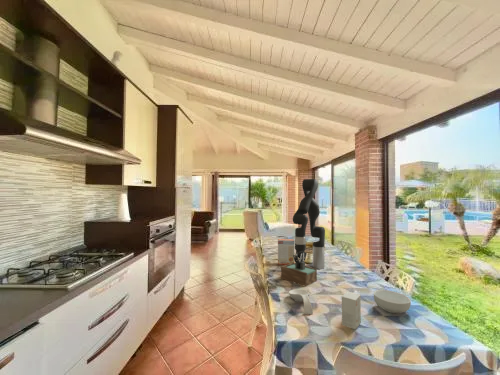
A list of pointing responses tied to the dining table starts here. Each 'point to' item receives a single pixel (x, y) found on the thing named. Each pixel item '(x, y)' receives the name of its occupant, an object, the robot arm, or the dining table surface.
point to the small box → (351, 310)
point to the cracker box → (285, 251)
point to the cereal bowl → (392, 301)
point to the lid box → (298, 275)
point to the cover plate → (302, 268)
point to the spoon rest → (302, 299)
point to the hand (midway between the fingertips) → (300, 267)
